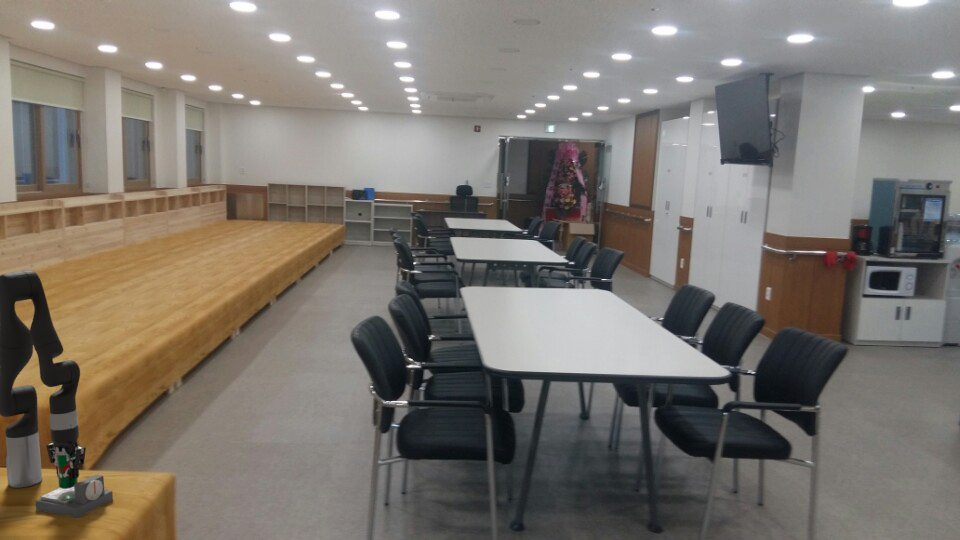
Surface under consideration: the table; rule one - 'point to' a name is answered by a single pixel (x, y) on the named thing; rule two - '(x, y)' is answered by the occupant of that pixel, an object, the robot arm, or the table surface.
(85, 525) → the table surface
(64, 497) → the scale platform
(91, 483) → the scale base
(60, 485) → the soda can
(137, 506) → the table surface
